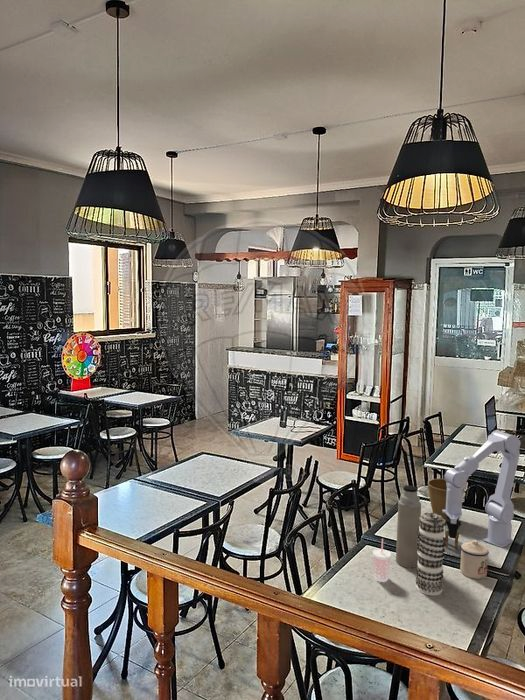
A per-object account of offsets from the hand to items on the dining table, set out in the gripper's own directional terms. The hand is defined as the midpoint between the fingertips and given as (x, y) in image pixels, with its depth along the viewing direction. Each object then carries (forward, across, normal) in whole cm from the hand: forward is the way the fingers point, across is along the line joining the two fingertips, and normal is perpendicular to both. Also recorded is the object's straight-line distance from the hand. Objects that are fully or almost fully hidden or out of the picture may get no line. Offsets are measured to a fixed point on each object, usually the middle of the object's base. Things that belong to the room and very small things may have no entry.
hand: (452, 534), depth 206 cm
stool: (+4, 0, 0) cm, 4 cm away
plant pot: (+5, -27, -3) cm, 28 cm away
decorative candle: (+5, +35, -8) cm, 36 cm away
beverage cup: (+5, +34, -23) cm, 41 cm away
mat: (+5, 0, 0) cm, 5 cm away
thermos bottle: (+5, +19, -16) cm, 25 cm away
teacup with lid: (+5, +17, +8) cm, 19 cm away
